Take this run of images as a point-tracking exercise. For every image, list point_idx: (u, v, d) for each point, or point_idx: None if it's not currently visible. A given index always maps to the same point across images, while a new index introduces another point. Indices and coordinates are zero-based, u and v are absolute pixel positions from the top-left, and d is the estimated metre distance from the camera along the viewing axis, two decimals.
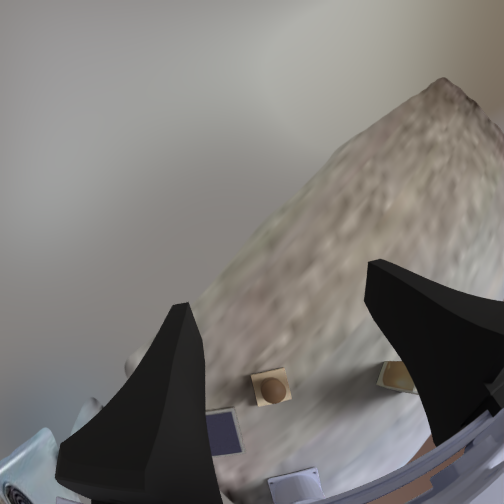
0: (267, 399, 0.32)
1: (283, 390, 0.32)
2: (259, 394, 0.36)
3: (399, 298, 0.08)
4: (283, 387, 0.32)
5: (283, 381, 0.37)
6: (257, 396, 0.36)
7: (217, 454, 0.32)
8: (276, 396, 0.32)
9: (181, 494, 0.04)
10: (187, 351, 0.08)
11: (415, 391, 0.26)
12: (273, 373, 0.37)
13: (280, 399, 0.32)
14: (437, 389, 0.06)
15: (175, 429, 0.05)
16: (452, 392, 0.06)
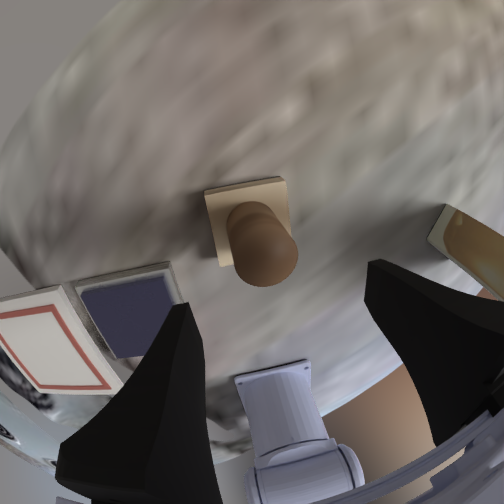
0: (248, 277, 0.14)
1: (290, 256, 0.14)
2: (223, 240, 0.18)
3: (399, 298, 0.08)
4: (292, 247, 0.13)
5: (279, 212, 0.17)
6: (218, 244, 0.18)
7: None
8: (271, 270, 0.14)
9: (181, 494, 0.04)
10: (187, 351, 0.08)
11: None
12: (258, 192, 0.16)
13: (280, 277, 0.14)
14: (437, 389, 0.06)
15: (175, 429, 0.05)
16: (452, 392, 0.06)
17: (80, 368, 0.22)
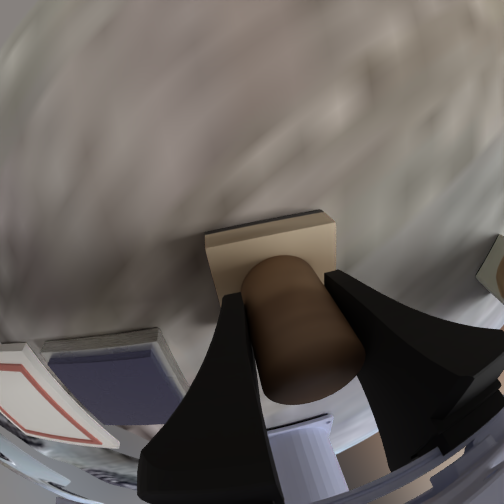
0: (283, 398, 0.08)
1: (352, 365, 0.07)
2: None
3: (351, 314, 0.08)
4: (358, 355, 0.07)
5: (322, 269, 0.11)
6: None
7: (141, 423, 0.15)
8: (320, 386, 0.08)
9: (278, 483, 0.04)
10: (248, 340, 0.08)
11: None
12: (293, 241, 0.10)
13: (332, 390, 0.08)
14: (388, 415, 0.06)
15: (261, 417, 0.05)
16: (402, 421, 0.05)
17: (65, 424, 0.16)
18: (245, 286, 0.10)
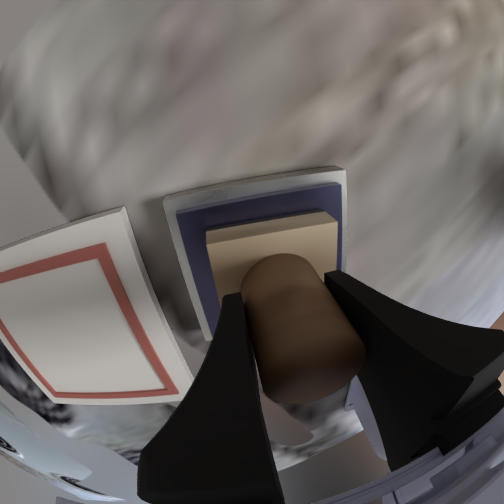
0: (282, 396, 0.07)
1: (353, 365, 0.07)
2: None
3: (351, 314, 0.08)
4: (359, 354, 0.07)
5: (323, 268, 0.11)
6: None
7: None
8: (320, 385, 0.08)
9: (278, 483, 0.04)
10: (248, 340, 0.08)
11: None
12: (295, 239, 0.10)
13: (331, 389, 0.08)
14: (389, 415, 0.06)
15: (261, 417, 0.05)
16: (402, 421, 0.05)
17: (131, 364, 0.15)
18: (245, 284, 0.10)
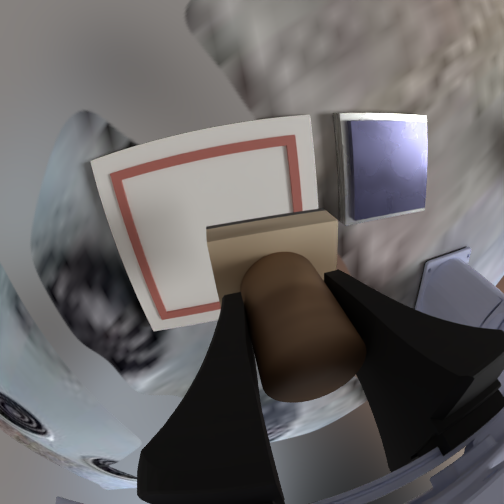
0: (282, 395, 0.07)
1: (353, 363, 0.07)
2: None
3: (351, 314, 0.08)
4: (359, 352, 0.07)
5: (323, 267, 0.11)
6: None
7: (391, 211, 0.19)
8: (320, 384, 0.08)
9: (278, 483, 0.04)
10: (248, 340, 0.08)
11: None
12: (295, 237, 0.10)
13: (331, 388, 0.08)
14: (388, 415, 0.06)
15: (261, 417, 0.05)
16: (402, 421, 0.05)
17: None
18: (245, 282, 0.10)
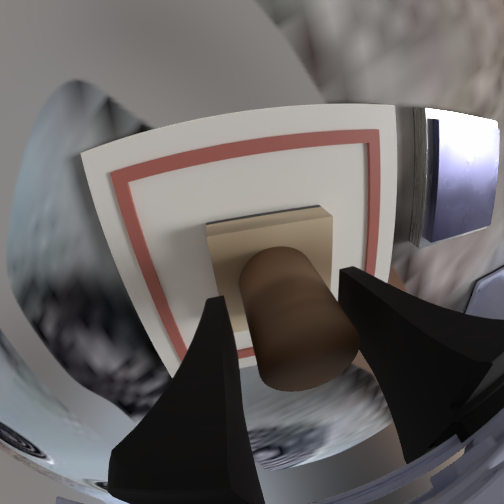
0: (279, 383, 0.08)
1: (347, 353, 0.08)
2: (233, 301, 0.12)
3: (368, 309, 0.08)
4: (353, 342, 0.08)
5: (319, 261, 0.12)
6: (227, 306, 0.12)
7: (464, 230, 0.13)
8: (315, 372, 0.08)
9: (246, 489, 0.04)
10: (228, 344, 0.08)
11: None
12: (292, 232, 0.11)
13: (326, 377, 0.08)
14: (406, 406, 0.06)
15: (233, 422, 0.05)
16: (420, 411, 0.05)
17: None
18: (244, 275, 0.11)
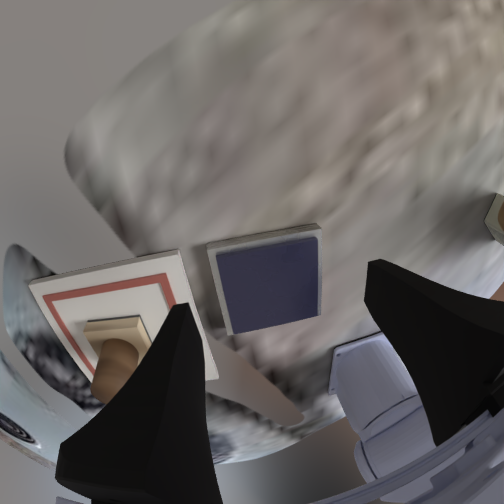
0: (104, 401, 0.16)
1: None
2: None
3: (399, 298, 0.08)
4: None
5: (138, 346, 0.19)
6: None
7: (274, 324, 0.21)
8: None
9: (181, 494, 0.04)
10: (187, 351, 0.08)
11: None
12: (118, 333, 0.19)
13: None
14: (437, 389, 0.06)
15: (175, 429, 0.05)
16: (452, 392, 0.06)
17: None
18: (101, 349, 0.18)
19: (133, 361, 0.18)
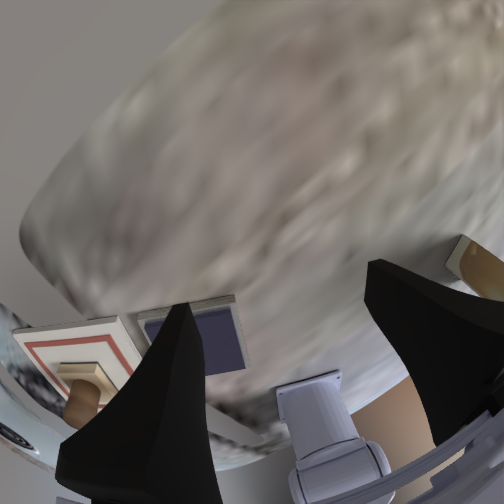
0: (74, 427, 0.18)
1: None
2: None
3: (399, 298, 0.08)
4: None
5: (99, 385, 0.21)
6: None
7: (206, 374, 0.23)
8: None
9: (181, 494, 0.04)
10: (187, 351, 0.08)
11: None
12: (82, 375, 0.20)
13: None
14: (437, 389, 0.06)
15: (175, 429, 0.05)
16: (452, 392, 0.06)
17: None
18: None
19: (94, 398, 0.20)
